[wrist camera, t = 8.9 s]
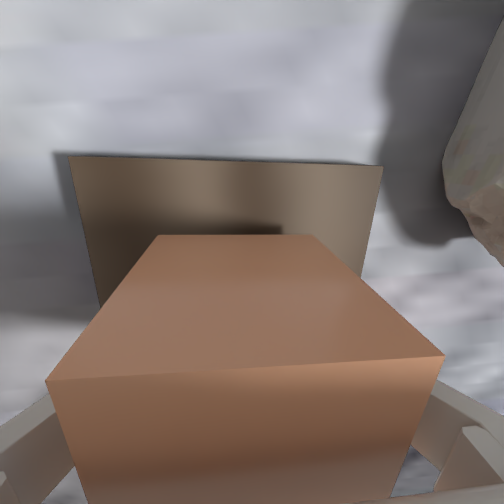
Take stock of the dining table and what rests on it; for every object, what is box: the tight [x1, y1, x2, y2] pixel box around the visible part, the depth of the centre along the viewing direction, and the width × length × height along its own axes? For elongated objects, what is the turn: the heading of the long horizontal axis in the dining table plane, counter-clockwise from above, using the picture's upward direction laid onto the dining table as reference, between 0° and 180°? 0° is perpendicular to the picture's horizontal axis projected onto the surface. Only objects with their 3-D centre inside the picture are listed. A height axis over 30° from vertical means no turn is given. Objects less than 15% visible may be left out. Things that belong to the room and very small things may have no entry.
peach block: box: [45, 235, 445, 504], centre depth 8 cm, size 6×6×7 cm
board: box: [68, 156, 384, 308], centre depth 17 cm, size 13×32×1 cm, turn 178°
